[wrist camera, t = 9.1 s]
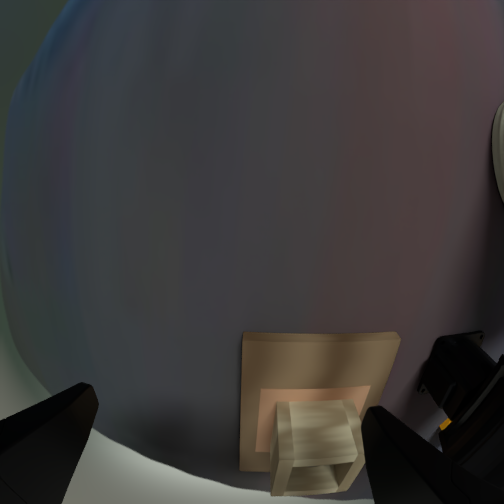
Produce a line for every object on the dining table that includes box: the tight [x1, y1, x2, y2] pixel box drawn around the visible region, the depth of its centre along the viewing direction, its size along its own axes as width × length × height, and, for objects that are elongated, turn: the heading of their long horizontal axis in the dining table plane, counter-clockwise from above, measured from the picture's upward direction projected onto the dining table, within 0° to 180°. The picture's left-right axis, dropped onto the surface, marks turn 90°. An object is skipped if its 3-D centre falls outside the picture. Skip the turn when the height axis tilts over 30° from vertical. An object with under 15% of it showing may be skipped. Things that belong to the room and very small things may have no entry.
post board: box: [239, 332, 401, 472], centre depth 20 cm, size 12×18×6 cm, turn 178°
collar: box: [270, 399, 365, 496], centre depth 18 cm, size 6×6×6 cm
